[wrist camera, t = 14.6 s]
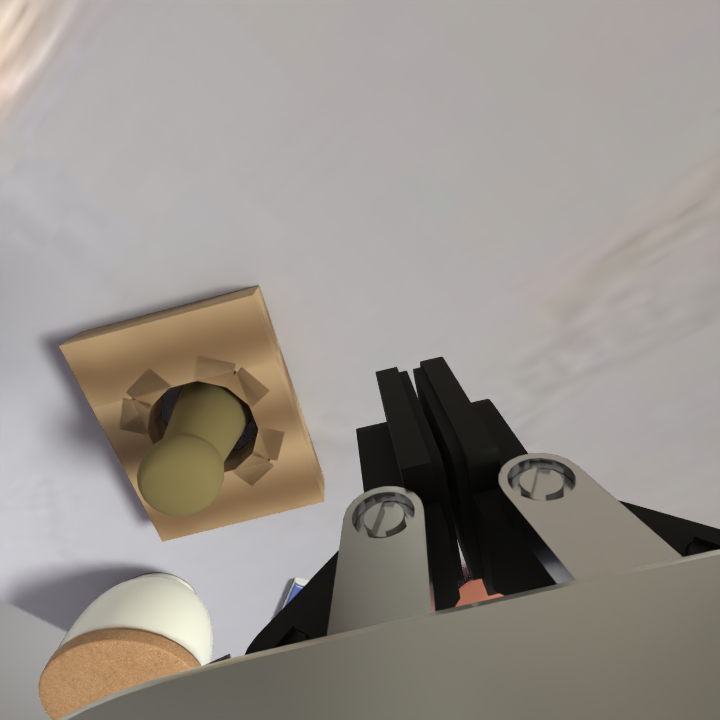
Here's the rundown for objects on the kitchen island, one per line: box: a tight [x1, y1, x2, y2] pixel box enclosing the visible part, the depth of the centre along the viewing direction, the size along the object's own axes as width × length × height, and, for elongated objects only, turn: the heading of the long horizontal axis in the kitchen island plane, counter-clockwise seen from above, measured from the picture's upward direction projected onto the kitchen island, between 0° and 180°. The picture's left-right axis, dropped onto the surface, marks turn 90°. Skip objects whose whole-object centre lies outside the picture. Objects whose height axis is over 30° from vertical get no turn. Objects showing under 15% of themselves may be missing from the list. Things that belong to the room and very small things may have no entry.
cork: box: [137, 381, 252, 516], centre depth 33 cm, size 6×6×11 cm
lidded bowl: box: [39, 573, 213, 720], centre depth 40 cm, size 13×13×11 cm
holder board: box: [59, 286, 324, 542], centre depth 37 cm, size 18×14×3 cm
